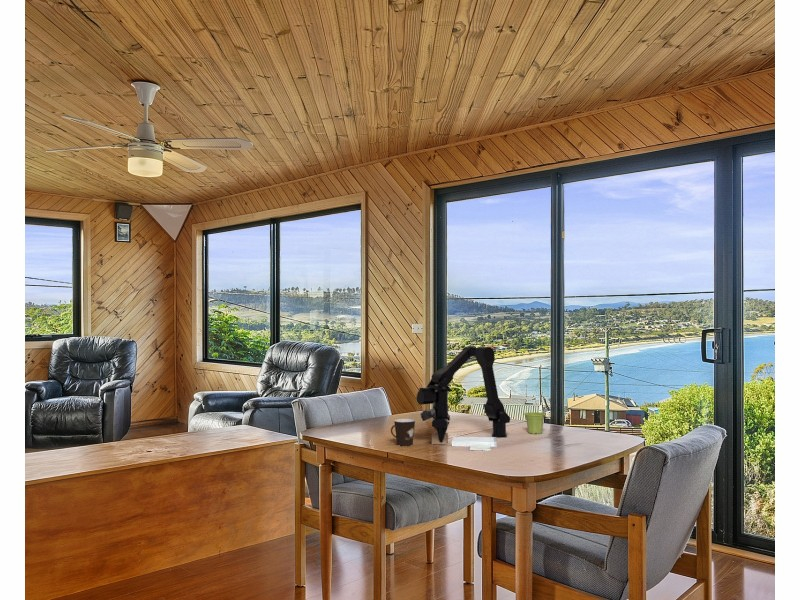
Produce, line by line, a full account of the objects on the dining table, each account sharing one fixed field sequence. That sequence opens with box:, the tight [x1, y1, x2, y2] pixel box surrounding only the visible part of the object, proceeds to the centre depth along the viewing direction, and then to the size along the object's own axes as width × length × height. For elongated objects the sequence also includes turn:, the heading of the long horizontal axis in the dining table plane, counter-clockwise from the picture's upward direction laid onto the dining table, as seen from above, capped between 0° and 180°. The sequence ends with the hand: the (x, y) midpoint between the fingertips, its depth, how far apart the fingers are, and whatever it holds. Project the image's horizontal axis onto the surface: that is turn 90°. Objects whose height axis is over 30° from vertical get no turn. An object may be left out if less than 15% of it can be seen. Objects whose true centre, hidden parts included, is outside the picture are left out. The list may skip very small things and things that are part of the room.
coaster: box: [469, 445, 492, 452], centre depth 243 cm, size 8×8×1 cm
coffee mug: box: [390, 418, 416, 447], centre depth 252 cm, size 12×9×10 cm
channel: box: [451, 436, 498, 448], centre depth 253 cm, size 10×18×2 cm, turn 82°
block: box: [431, 432, 449, 445], centre depth 255 cm, size 5×6×4 cm
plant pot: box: [523, 411, 546, 435], centre depth 277 cm, size 9×9×9 cm
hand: (441, 440), depth 255 cm, fingers closed on block, 5 cm apart
